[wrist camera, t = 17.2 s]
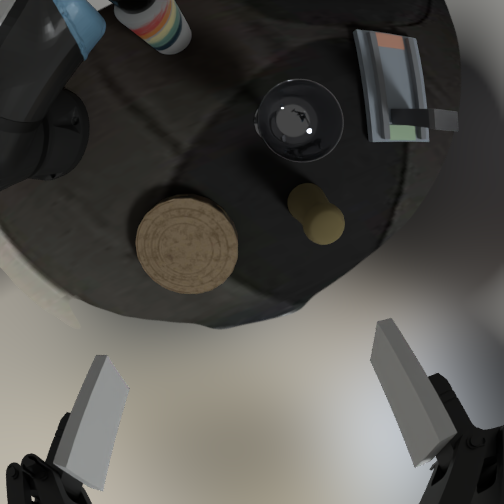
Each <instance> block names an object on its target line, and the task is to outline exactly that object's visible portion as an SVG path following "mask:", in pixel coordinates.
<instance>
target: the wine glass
mask: <svg viewBox="0 0 504 504" xmlns="http://www.w3.org/2000/svg"><path fill="white" fill-rule="evenodd" d="M343 124H344V122H343V114H342V110H341V107H340V105H339V103H338V101H337V99H336V98H335V96H334V95H333V94H332V93H331V92H330V91H329V90H328V89H326V88H325V87H324V86H322V85H320V84H318V83H316V82H313V81H310V80H305V79H293V80H288V81H285V82H282V83H280V84H278V85H276V86H275V87H273V88H272V89H271V90H270V91H269V92H268V93H267V94H266V95H265V97H264V98H263V99H262V101H261V103H260V105H259V108H258V109H257V111H256V113H255V117H254V126H255V129H256V131H257V133H258V135H259V136H260V137H261V138H262V139H263V141H264V142H265V144H266V145H267V146H268V147H269V148H270V149H271V150H272V151H273V152H275V153H276V154H278V155H279V156H281V157H283V158H285V159H287V160H291V161H295V162H310V161H314V160H318V159H320V158H322V157H324V156H325V155H327V154H328V153H330V152H331V151H332V150H333V149H334V148H335V146H336V145H337V143H338V142H339V140H340V138H341V135H342V131H343Z"/></svg>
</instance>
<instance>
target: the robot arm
mask: <svg viewBox="0 0 504 504" xmlns="http://www.w3.org/2000/svg"><path fill="white" fill-rule="evenodd" d="M105 29H106V23H105V20H104V18H103V17H102V16H101V15H100V14H99V13H98V11H97V10H96V9H95V8H94V7H92V5H91V4H90V3H89V2H87V0H0V191H1V190H3V189H6V188H8V187H10V186H12V185H14V184H16V183H18V182H21V181H23V180H25V179H28V178H30V179H38V180H53V179H56V178H59V177H61V176H64V175H66V174H67V173H69V172H70V171H71V170H73V169H74V168H75V166H76V165H77V164H78V163H79V161H80V160H81V158H82V156H83V154H84V152H85V149H86V146H87V142H88V138H89V118H88V114H87V110H86V108H85V106H84V104H83V102H82V101H81V99H80V98H79V97H78V96H77V95H76V94H74V93H72V92H70V91H67V90H62V89H63V87H64V86H65V84H66V83H67V82H68V80H69V79H70V77H71V76H72V75H73V73H74V72H75V71H76V69H77V68H78V67H79V65H80V64H81V63H82V61H83V60H84V61H85V60H86V59H87V57H88V54H89V52H90V51H91V50H92V49H93V47H94V46H95V45H96V44H97V42H98V41H99V40H100V39H101V37H102V36H103V34H104V32H105ZM370 361H371V363H372V366H373V368H374V370H375V372H376V374H377V376H378V379H379V381H380V383H381V386H382V388H383V390H384V392H385V395H386V397H387V399H388V402H389V404H390V406H391V408H392V411H393V413H394V416H395V418H396V421H397V423H398V425H399V428H400V430H401V433H402V435H403V438H404V440H405V443H406V446H407V448H408V451H409V453H410V456H411V459H412V461H413V464H414V467H415V468H416V467H418V466H421V465H423V464H425V463H427V462H429V461H431V460H432V459H433V458H434V457H435V456H436V458H437V460H438V461H436V462H435V463H434V464H433V465H432V467H431V468H430V470H432V469H434V471H433V473H432V476H431V478H430V481H429V483H428V485H427V488H426V490H425V492H424V494H423V497H422V499H421V501H420V503H419V504H504V425H503V426H500V427H496V428H493V429H488V430H482V429H480V428H476V427H475V426H474V425H473V424H472V423H471V421H470V419H469V417H468V415H467V414H466V412H465V410H464V408H463V406H462V405H461V403H460V401H459V399H458V398H457V397H456V394H455V392H454V391H453V390H452V387H451V386H450V384H449V383H448V381H447V379H445V378H444V377H443V376H442V375H440V374H439V373H436V374H434V375H431V376H429V377H427V375H426V373H425V372H424V370H423V368H422V366H421V365H420V363H419V362H418V360H417V358H416V356H415V355H414V353H413V351H412V350H411V348H410V347H409V345H408V343H407V342H406V340H405V339H404V337H403V335H402V334H401V332H400V330H399V329H398V327H397V326H396V324H395V323H394V321H393V320H392V319H391V318H390V319H386V320H382V321H378V322H377V326H376V332H375V338H374V343H373V349H372V354H371V359H370ZM129 389H130V388H129V387H128V385H127V384H126V383H125V381H124V380H123V378H122V377H121V375H120V374H119V372H118V371H117V369H116V368H115V366H114V365H113V363H112V361H111V360H110V358H109V356H108V355H96V357H95V359H94V361H93V363H92V365H91V367H90V369H89V372H88V374H87V376H86V378H85V381H84V383H83V385H82V387H81V390H80V392H79V394H78V397H77V399H76V402H75V404H74V407H73V409H72V411H71V413H68V412H67V413H66V414H65V415H64V416H63V418H62V419H61V420H60V423H59V426H58V430H57V431H56V433H55V437H54V439H53V441H52V444H51V447H50V450H49V453H48V456H47V459H46V461H45V462H44V461H43V460H42V459H40V458H39V457H38V456H36V455H35V454H27V455H26V456H25V457H24V458H23V459H22V462H21V466H20V465H19V464H18V463H11V464H10V465H9V466H8V468H7V470H6V486H7V498H8V504H92V503H91V501H90V499H89V497H88V495H87V493H86V491H85V490H84V488H83V487H82V485H83V484H85V485H87V486H88V487H90V488H93V489H97V490H100V491H103V489H104V484H105V479H106V475H107V470H108V466H109V462H110V457H111V454H112V450H113V446H114V442H115V438H116V434H117V430H118V427H119V423H120V419H121V416H122V412H123V409H124V406H125V402H126V398H127V395H128V392H129ZM31 496H33V497H34V498H35V501H34V502H33V501H32V499H31Z"/></svg>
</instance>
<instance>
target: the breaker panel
mask: <svg viewBox="0 0 504 504" xmlns="http://www.w3.org/2000/svg"><path fill="white" fill-rule="evenodd" d="M353 35H354V40H355V45H356V50H357V55H358V61H359V66H360V72H361V79H362V85H363V93H364V100H365V109H366V118H367V128H368V140H369V141H371V142H392V141H417V142H429V130H428V128H425V127H417V126H408V125H398V124H392V117H391V109H427V104H426V95H425V87H424V80H423V73H422V67H421V61H420V56H419V51H418V46H417V41H416V39H415V38H411V37H406V36H400V35H395V34H389V33H382V32H375V31H366V30H357V29H356V30H355V31H353Z"/></svg>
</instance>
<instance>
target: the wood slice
mask: <svg viewBox="0 0 504 504" xmlns="http://www.w3.org/2000/svg"><path fill="white" fill-rule="evenodd" d="M135 243H136V250H137V257H138V259H139V261H140V263H141V265H142V267H143V269H144V271H145V272H146V273H147V274H148V275H149V276H150V277H151V278H152V279H153V280H154V281H155V282H156V283H158V284H160V285H161V286H163V287H164V288H166V289H168V290H171V291H175V292H178V293H181V294H198V293H202V292H206V291H210V290H212V289H214V288H215V287H217V286H219V285H220V284H222V283H223V282H224V281H225V280H226V279H227V278H228V277H229V275H230V274H231V273H232V272H233V269H234V266H235V264H236V261H237V259H238V235H237V232H236V229H235V226H234V223H233V220H232V219H231V218H230V217H229V215H228V214H227V213H226V211H225V210H224V209H223V208H222V207H221V206H219V205H218V204H216V203H215V202H214V201H212V200H211V199H209V198H205V197H202V196H199V195H196V194H177V195H174V196H171V197H168V198H165V199H163V200H161V201H160V202H159V203H158V204H156V205H155V206H154V207H153V208H151V209H150V210H149V211H148V213H147V214H146V215H145V217H144V218H143V220H142V222H141V223H140V225H139V227H138V230H137V236H136V241H135Z"/></svg>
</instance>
